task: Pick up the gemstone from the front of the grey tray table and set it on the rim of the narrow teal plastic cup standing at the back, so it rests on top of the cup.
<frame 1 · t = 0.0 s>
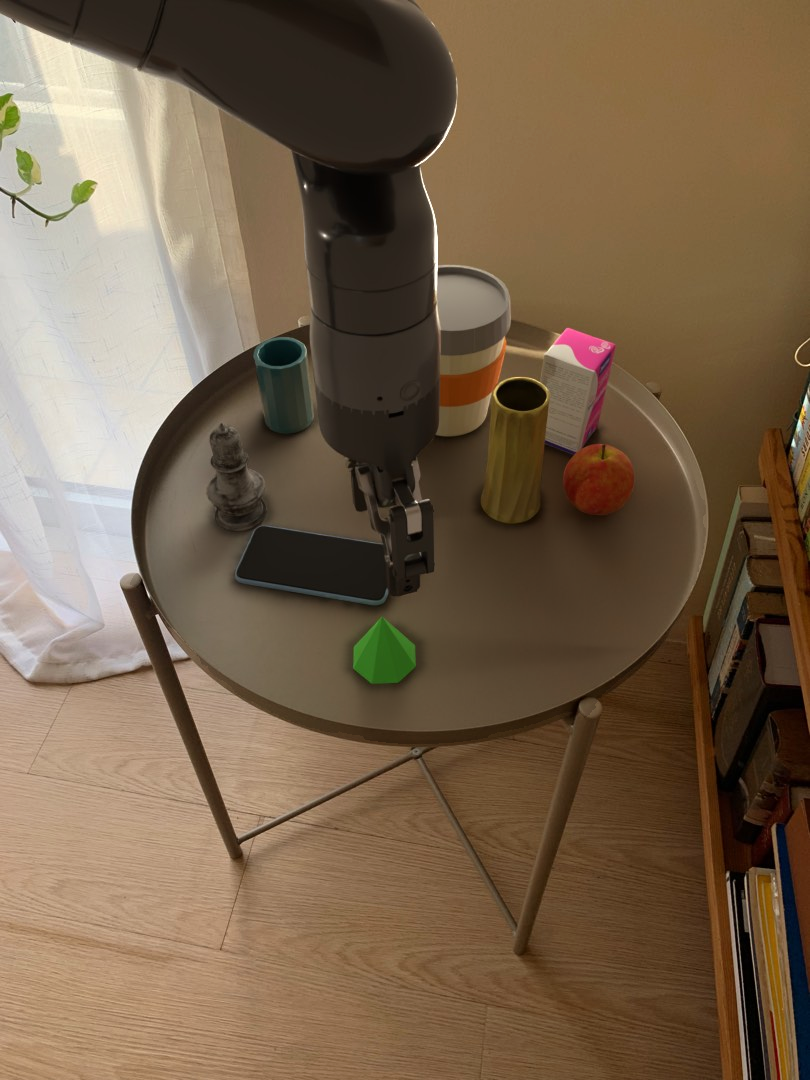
hand: (385, 547, 64), 18 cm above the table, tool pointing down, fingers open, 8 cm apart
fruit: (593, 505, 91), on the table
gemstone: (384, 658, 79), on the table
teal cup: (289, 417, 101), on the table
reusable coffee cup: (447, 411, 101), on the table
vase: (510, 504, 92), on the table
smartphone: (318, 568, 86), on the table
supplement box: (565, 434, 99), on the table
chess piece: (241, 513, 91), on the table
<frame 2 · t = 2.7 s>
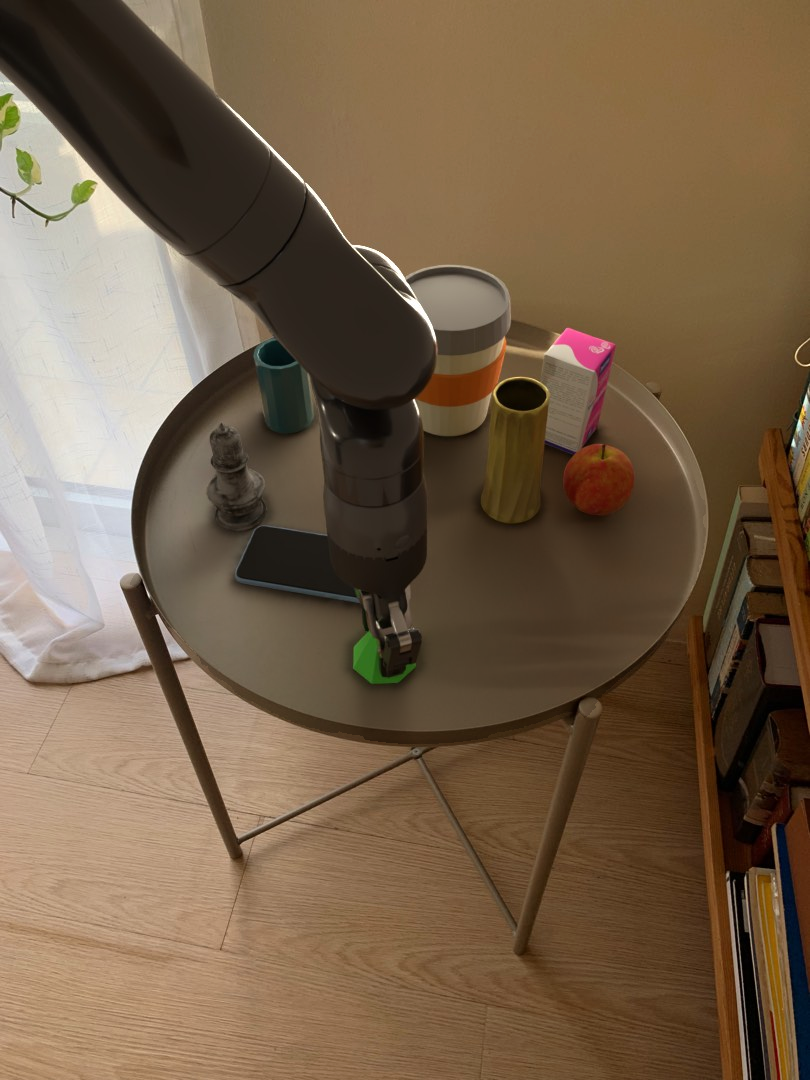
hand: (384, 648, 78), 1 cm above the table, tool pointing down, fingers closed on gemstone, 4 cm apart
gemstone: (384, 658, 79), on the table, touching gripper
everything else where it was.
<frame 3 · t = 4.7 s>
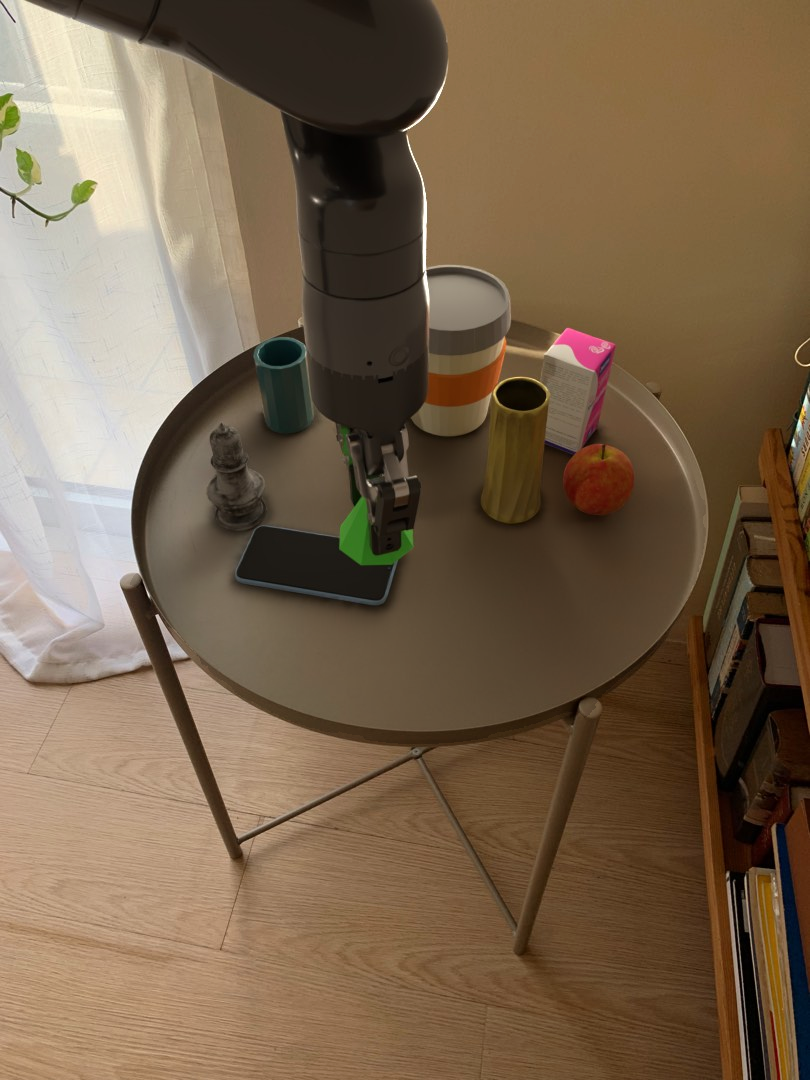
hand: (375, 525, 66), 17 cm above the table, tool pointing down, fingers closed on gemstone, 4 cm apart
gemstone: (376, 538, 67), point 16 cm above the table, touching gripper
everything else where it was.
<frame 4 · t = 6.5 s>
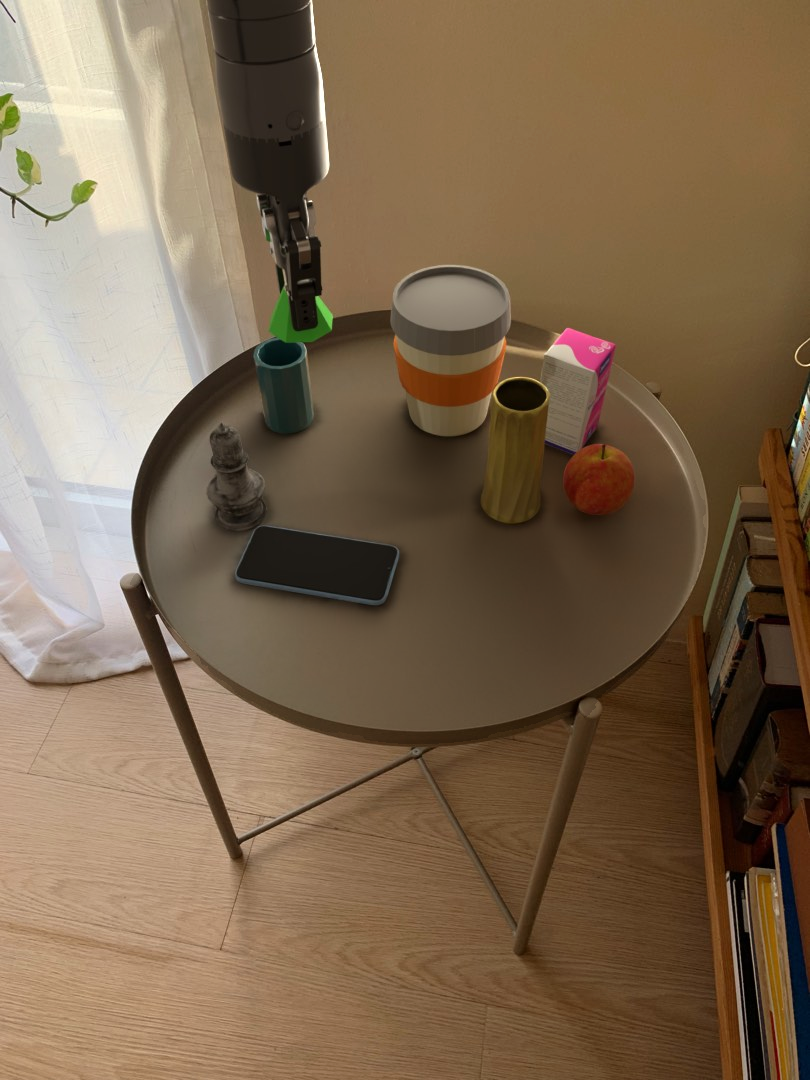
hand: (298, 310, 77), 22 cm above the table, tool pointing down, fingers closed on gemstone, 4 cm apart
gemstone: (301, 325, 79), point 20 cm above the table, touching gripper
everything else where it was.
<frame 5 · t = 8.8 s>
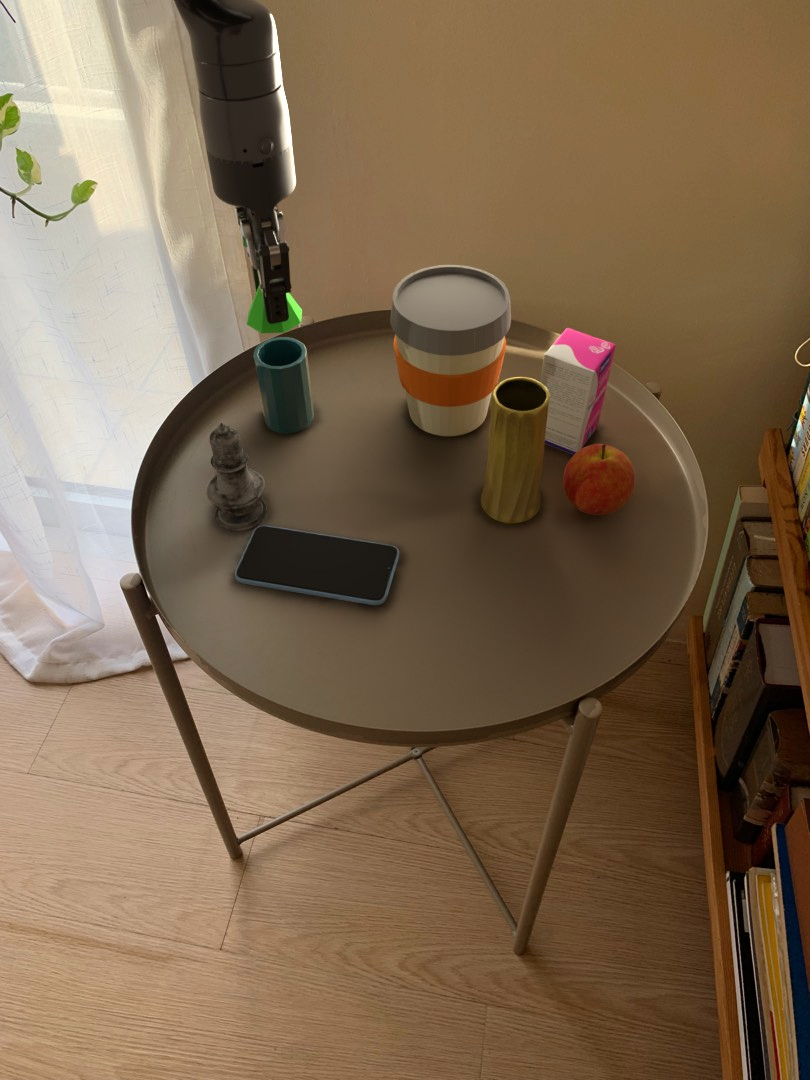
hand: (272, 306, 90), 15 cm above the table, tool pointing down, fingers closed on gemstone, 4 cm apart
gemstone: (274, 318, 91), point 13 cm above the table, touching gripper
everything else where it was.
when the fingers open (10 cm above the table, at t = 10.3 s): gemstone stays where it is, resting on teal cup.
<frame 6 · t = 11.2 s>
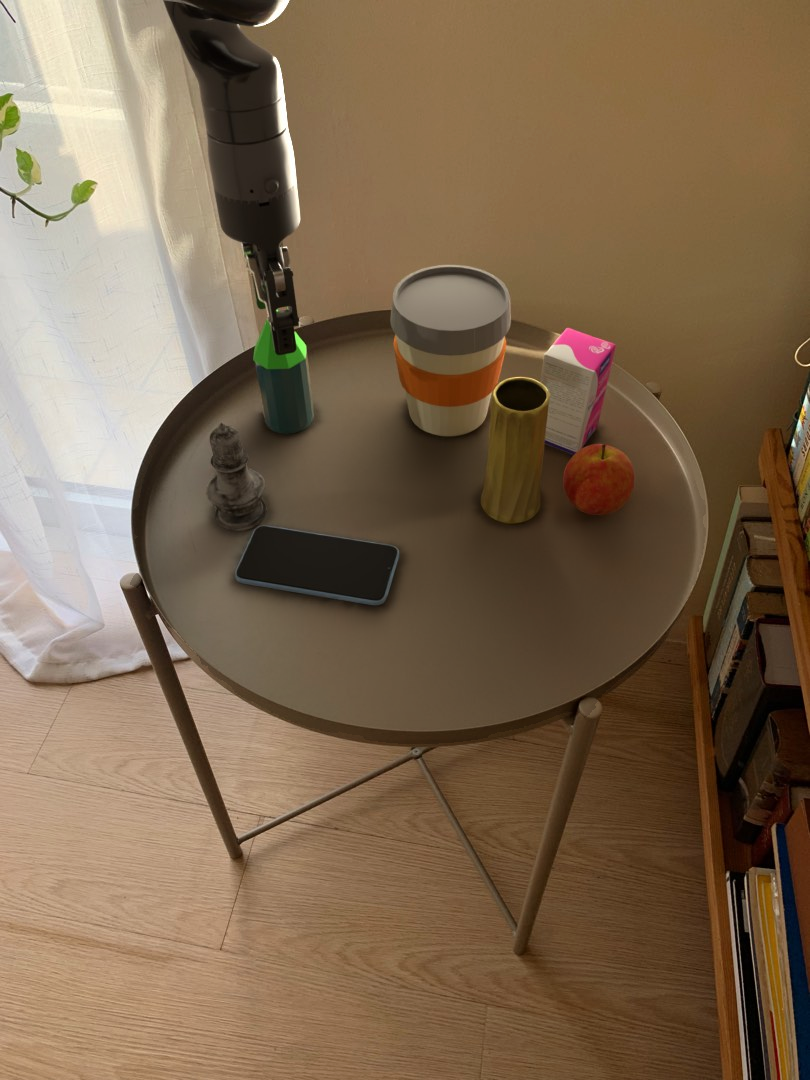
hand: (276, 328, 92), 12 cm above the table, tool pointing down, fingers open, 8 cm apart
gemstone: (280, 354, 94), point 9 cm above the table, touching teal cup
teal cup: (289, 417, 101), on the table, touching gemstone
everything else where it was.
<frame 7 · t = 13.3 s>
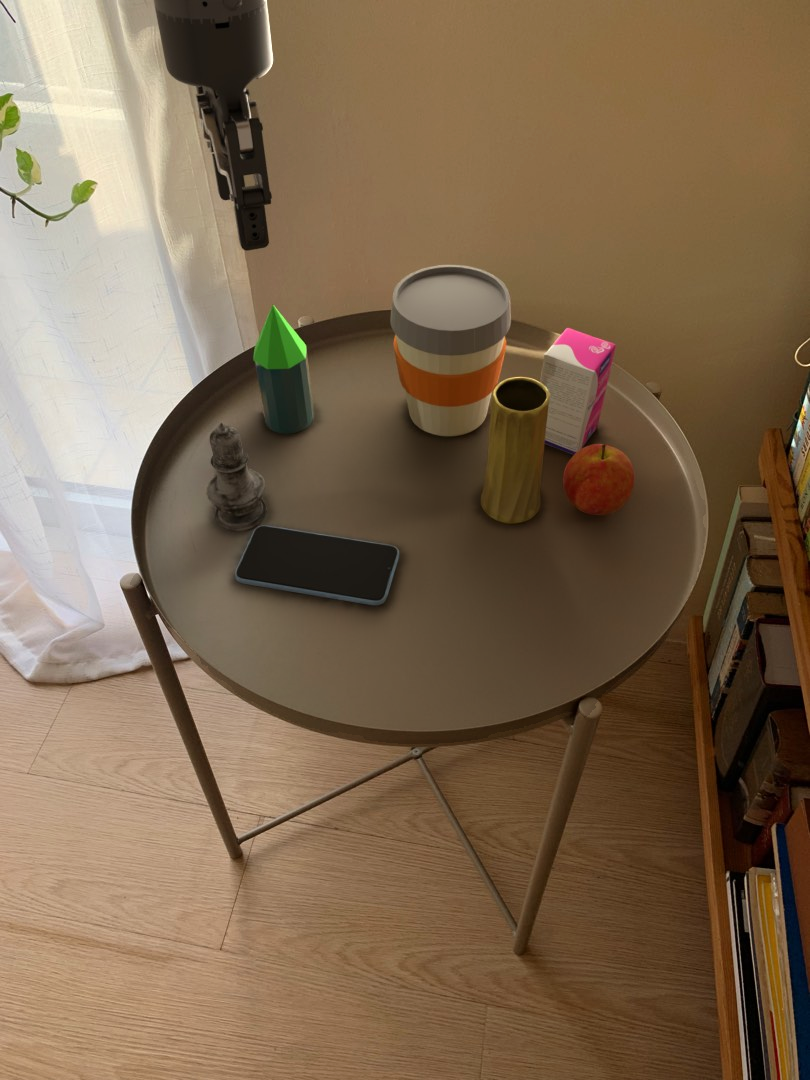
hand: (243, 221, 71), 30 cm above the table, tool pointing down, fingers open, 8 cm apart
nothing on the table moved.
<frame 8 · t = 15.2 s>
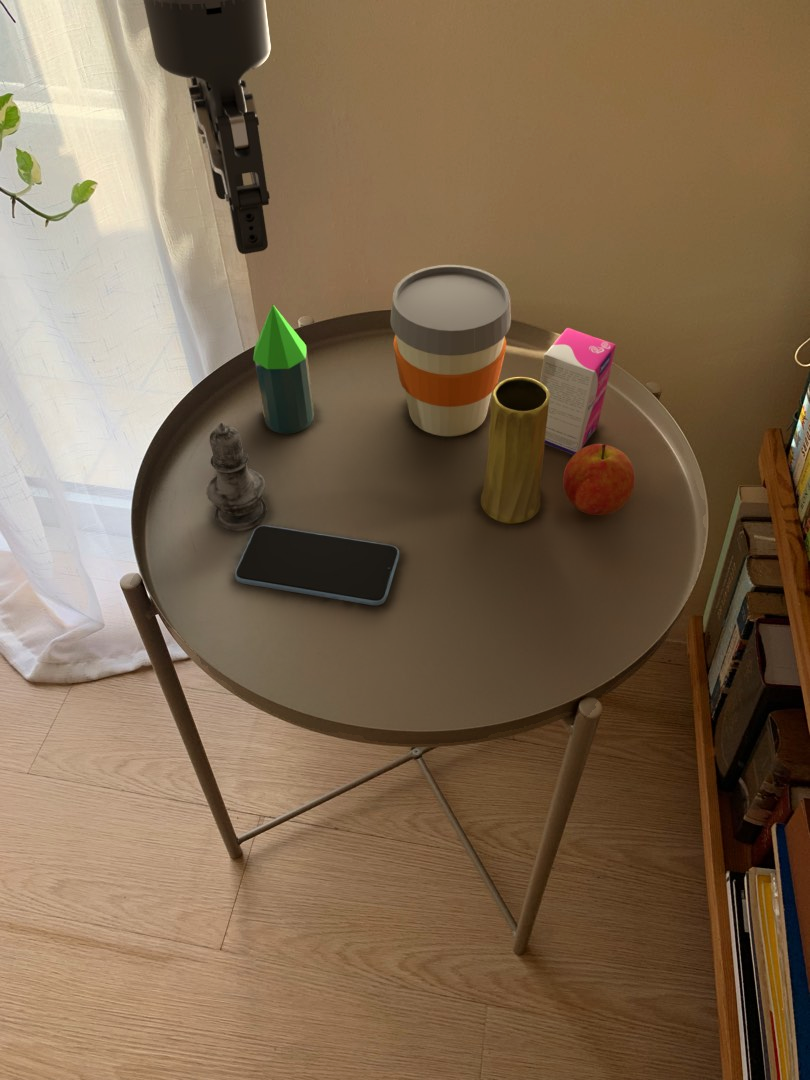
hand: (241, 222, 67), 32 cm above the table, tool pointing down, fingers open, 8 cm apart
nothing on the table moved.
at the end: gemstone 0.1 cm off-centre on the teal cup, point 8.8 cm above the teal cup's base; teal cup tilted 0°; the gripper is holding nothing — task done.
